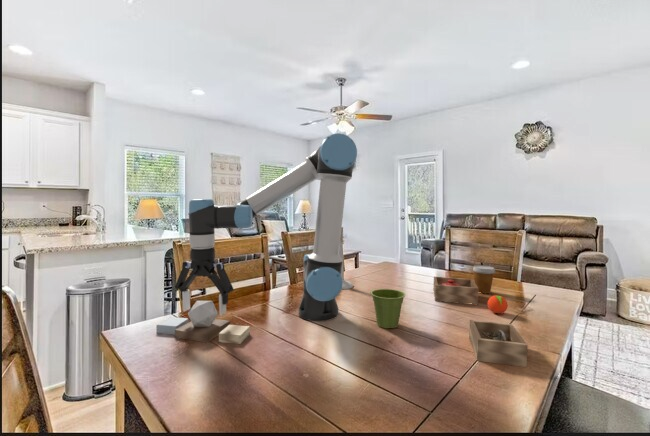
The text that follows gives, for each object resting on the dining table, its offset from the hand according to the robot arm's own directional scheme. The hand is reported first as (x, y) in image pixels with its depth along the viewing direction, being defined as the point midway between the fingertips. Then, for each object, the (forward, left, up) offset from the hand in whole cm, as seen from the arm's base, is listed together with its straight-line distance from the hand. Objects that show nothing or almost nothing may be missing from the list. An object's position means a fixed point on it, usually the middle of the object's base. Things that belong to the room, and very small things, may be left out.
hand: (204, 312), depth 107 cm
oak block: (-12, +1, -7) cm, 14 cm away
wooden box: (-83, -65, -7) cm, 105 cm away
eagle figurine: (-90, -12, -7) cm, 91 cm away
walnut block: (0, 0, -7) cm, 7 cm away
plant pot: (-57, -24, -7) cm, 62 cm away
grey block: (+11, +1, -7) cm, 13 cm away
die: (0, 0, -4) cm, 5 cm away
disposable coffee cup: (-97, -78, -7) cm, 124 cm away
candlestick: (-30, -68, -7) cm, 74 cm away
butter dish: (-81, -64, -7) cm, 103 cm away
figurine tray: (-89, -13, -7) cm, 90 cm away
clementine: (-97, -48, -7) cm, 108 cm away
